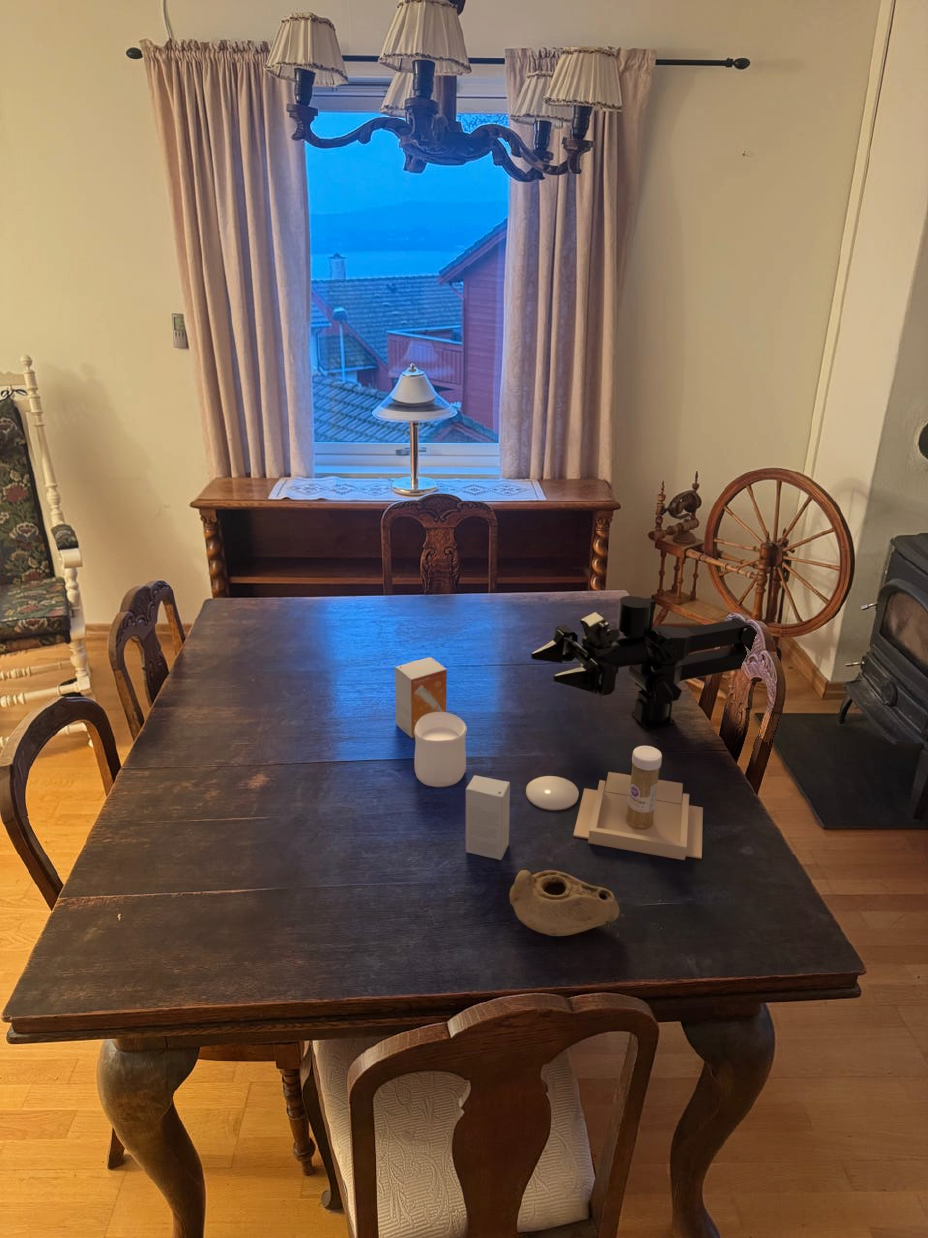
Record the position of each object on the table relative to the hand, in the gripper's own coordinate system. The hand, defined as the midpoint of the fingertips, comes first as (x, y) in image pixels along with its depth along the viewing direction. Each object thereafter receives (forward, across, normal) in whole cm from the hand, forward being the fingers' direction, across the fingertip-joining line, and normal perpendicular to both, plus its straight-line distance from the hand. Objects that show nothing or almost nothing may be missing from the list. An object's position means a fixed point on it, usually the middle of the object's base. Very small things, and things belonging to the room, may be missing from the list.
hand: (542, 667), depth 154 cm
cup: (+21, +2, +17) cm, 27 cm away
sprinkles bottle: (-5, +27, +16) cm, 32 cm away
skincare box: (+21, +24, +17) cm, 36 cm away
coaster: (+5, +15, +16) cm, 23 cm away
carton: (-7, +25, +17) cm, 31 cm away
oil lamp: (+17, +42, +17) cm, 48 cm away
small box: (+19, -14, +17) cm, 29 cm away
